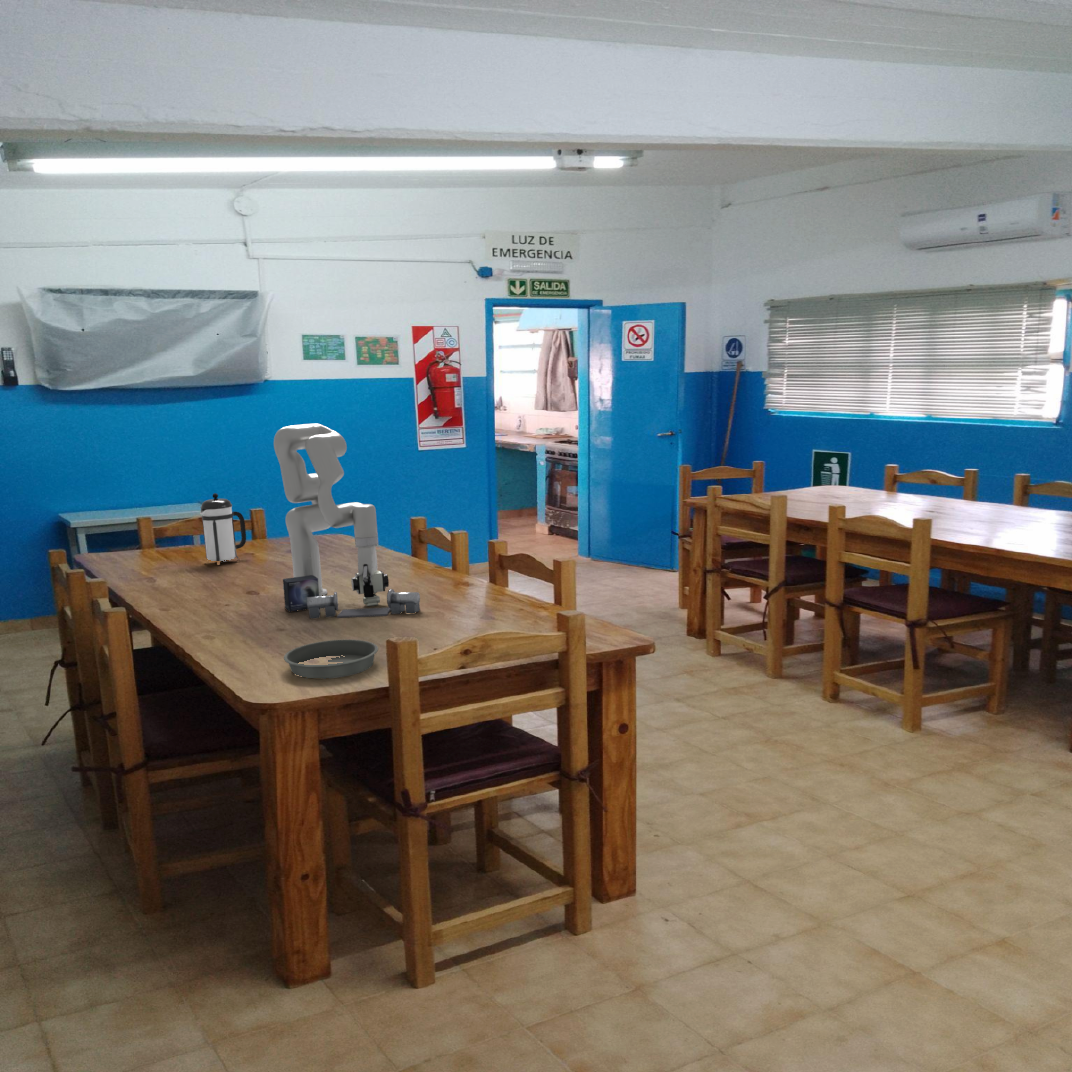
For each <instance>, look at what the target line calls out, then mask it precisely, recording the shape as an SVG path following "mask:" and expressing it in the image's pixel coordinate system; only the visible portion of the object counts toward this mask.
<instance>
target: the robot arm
mask: <svg viewBox="0 0 1072 1072" xmlns="http://www.w3.org/2000/svg"><path fill="white" fill-rule="evenodd" d="M347 448H348V447H347V442H346V440H345V438H344V437H343V436H342V435H341V434H340V433H339V432H337V431H336V430H333V429H331V428H329V427H327V426H325V425H323V424H320V423H303V424H294V425H288V426H287V425H286V426H283V427H282V428H280V429H278V430H277V431H276V433H275V435H274V437H273V449H274V452H275V456H276V457H277V460H278V463H279V466H280V474H281V478H282V484H283V489H284V494H285V497H286V499H287V501H288V502H290V503H292V504H300V503H307V502H311V504H309V505H301V506H298V507H297V506H296V507H294V508H292V509H290V510H289V511H287V513H286V514H285V526H286V529H287V532H288V537H289V542H290V550H291V559H292V570H293V571H292V573H293V578H294V577H301V576H309V575H314V576H315V577H317V578H318V587H319V596H322V595H323V596H327V595H328V590H327V588H323V580H322V568H321V558H320V547H319V546H320V545H319V543H318V541H317V538H316V537H315V536H314V532H320V531H325V530H327V529H329V528H335V529H339V528H343V527H344V528H345V527H351V526H353V530H354V531H353V533H354V541H355V542H354V543H355V548H357V573H358V576H359V577H360V576H362V575H363V590H364V594H363V598H364V597H365V598H366V597H374V590H373V585H372V576H373V575H374V574H375V573H376V572H377V571H378V556H377V547H378V546H379V535H378V524H377V523H378V522H377V512H376V511H377V509H376V507H375V505H373V504H371V503H361V502H358V501H356V502H355V501H353V502H347V503H340V504H336V503H335V501H334V498H333V495H332V487H333V485H335V484H337V483H338V482H339V481H340V480H341V479H342V478H343V477H344V475H345V471H344V468H343V467H342V464H341V463H340V461H339V458H340V457H343V456H345V453H346V452H347ZM298 450H305V451H306V453H307V455H308V458H309V460H310V462H311V464H312V467H313V468H314V470H315V471H314V473H313V472H312V473H308V472H307V468H306V467H307V466H306V461H305V460H304V458H303V457H302V455H301V454H300V453H299V452H297V451H298ZM369 574H370V576H368V575H369ZM368 578H370V580H369V579H368ZM282 590H283V591H284V586H283V585H282ZM377 593H378V592H376V594H377Z"/></svg>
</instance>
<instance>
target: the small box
mask: <svg viewBox="0 0 1072 1072" xmlns="http://www.w3.org/2000/svg"><path fill="white" fill-rule="evenodd" d="M283 586H284V590H283V596H284V609H285V608H286V609H287V610H288V611H287V610H286V609H285V610H286V611H287V612H289V611H290V612H289V613H292V612H291V611H295V612H298V611H297V610H302V611H306V610H305V609H308V607H307V597H316V596H319V587H318V578H317V577H315V576H314V575H309V576H301V577H294V576H293V577H289V578H288V577H285V578H283V579H282V587H283Z"/></svg>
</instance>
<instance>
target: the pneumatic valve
mask: <svg viewBox="0 0 1072 1072" xmlns="http://www.w3.org/2000/svg"><path fill="white" fill-rule="evenodd" d="M368 576H370V574H369V575H368ZM368 579H369V580H370V578H368ZM389 580H390V579H389V575H388V574H387V573H384V571H382V570H377V572H376V573H375V574H374V575H373V576H372V585H373V590H374V597H366V598H365V597H364V596H363V598H362V601H363V605H365V606H366V607H374V606H375V607H376V606H378V605H379V603H380V601H381V598H380V596H379V595H377V593H379V592H380V593H381V592H385V591H386V588H388V587H389V586H390V585H389V584H390V581H389ZM351 588H352V591H354V592H355V591H356V593H357V594H358V595H364V590H363V575H362V576H360V577H359V576H358V572H357V573H354V577H351ZM376 592H377V593H376Z"/></svg>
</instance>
